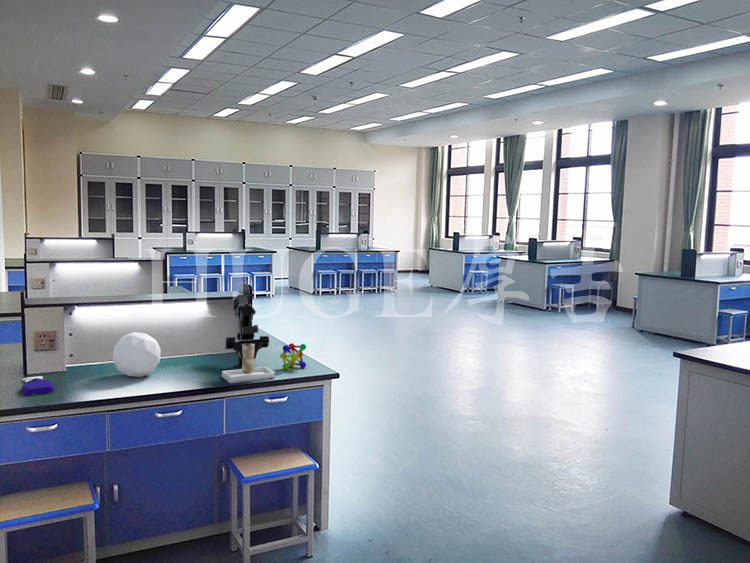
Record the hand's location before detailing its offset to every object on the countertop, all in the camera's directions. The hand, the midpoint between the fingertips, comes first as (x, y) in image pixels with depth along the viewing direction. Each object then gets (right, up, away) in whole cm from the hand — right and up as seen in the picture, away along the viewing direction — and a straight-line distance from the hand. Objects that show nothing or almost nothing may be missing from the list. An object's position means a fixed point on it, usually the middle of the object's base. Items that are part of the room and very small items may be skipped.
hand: (248, 358), depth 268 cm
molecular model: (+17, -7, +21) cm, 28 cm away
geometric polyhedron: (-49, -8, +1) cm, 49 cm away
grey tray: (-1, -9, +2) cm, 9 cm away
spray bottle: (-82, -10, -20) cm, 85 cm away
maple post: (-1, -6, +2) cm, 7 cm away
